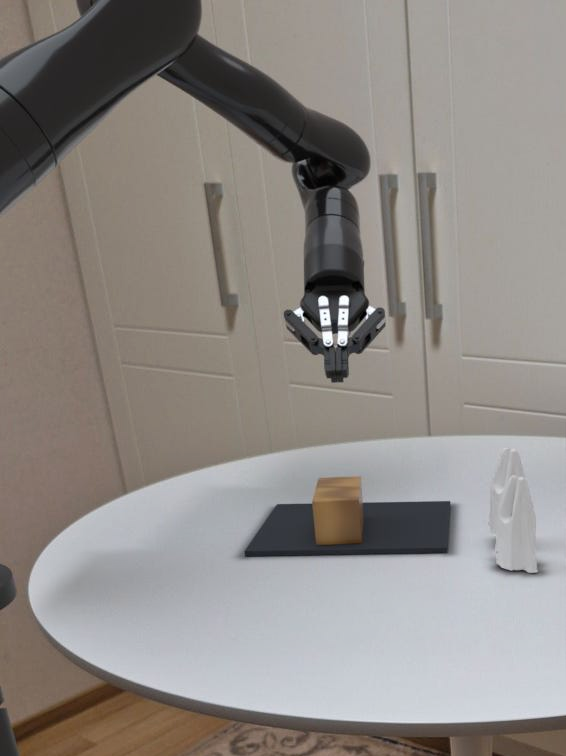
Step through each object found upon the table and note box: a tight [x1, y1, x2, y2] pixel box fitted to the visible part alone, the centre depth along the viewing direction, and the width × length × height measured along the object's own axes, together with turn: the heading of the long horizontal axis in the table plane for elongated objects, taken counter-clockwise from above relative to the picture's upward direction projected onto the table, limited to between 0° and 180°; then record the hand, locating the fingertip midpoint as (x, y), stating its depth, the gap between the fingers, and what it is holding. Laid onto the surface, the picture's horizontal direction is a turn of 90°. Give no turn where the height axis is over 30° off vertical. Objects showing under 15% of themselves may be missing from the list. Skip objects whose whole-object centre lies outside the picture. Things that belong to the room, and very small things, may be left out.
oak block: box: [311, 475, 364, 545], centre depth 101 cm, size 5×5×10 cm
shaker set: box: [487, 447, 539, 574], centre depth 93 cm, size 12×4×11 cm, turn 5°
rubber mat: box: [243, 500, 451, 557], centre depth 104 cm, size 22×18×1 cm
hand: (337, 378), depth 107 cm, fingers closed
